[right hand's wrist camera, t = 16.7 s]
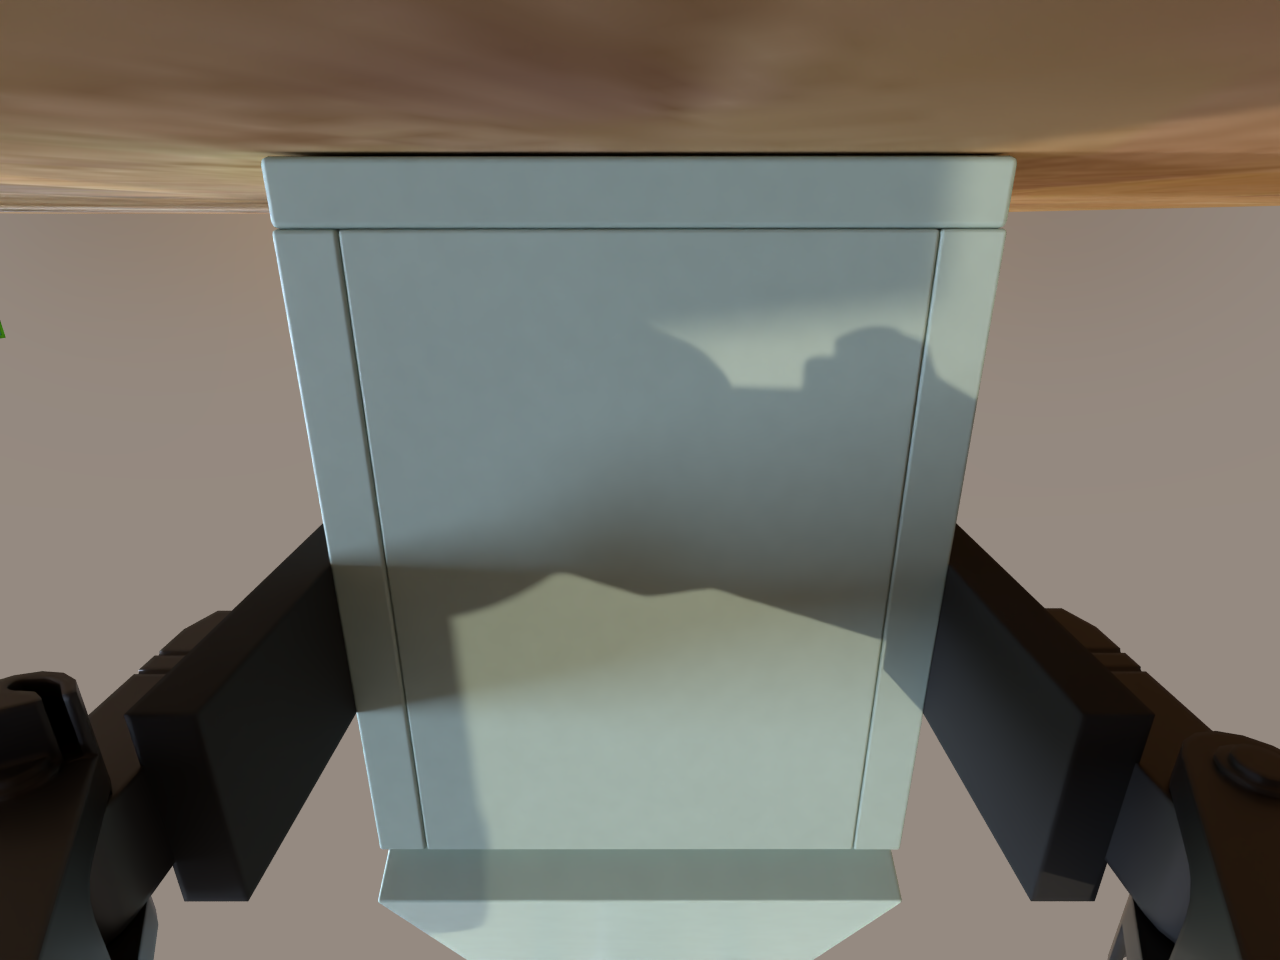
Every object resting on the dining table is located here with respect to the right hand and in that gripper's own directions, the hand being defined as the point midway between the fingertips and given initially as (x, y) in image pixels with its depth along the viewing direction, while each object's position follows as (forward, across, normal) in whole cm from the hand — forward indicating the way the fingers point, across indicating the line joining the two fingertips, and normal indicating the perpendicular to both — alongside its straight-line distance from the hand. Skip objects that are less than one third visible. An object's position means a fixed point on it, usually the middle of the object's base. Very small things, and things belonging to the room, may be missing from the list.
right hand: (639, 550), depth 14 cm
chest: (+4, 0, -7) cm, 8 cm away
